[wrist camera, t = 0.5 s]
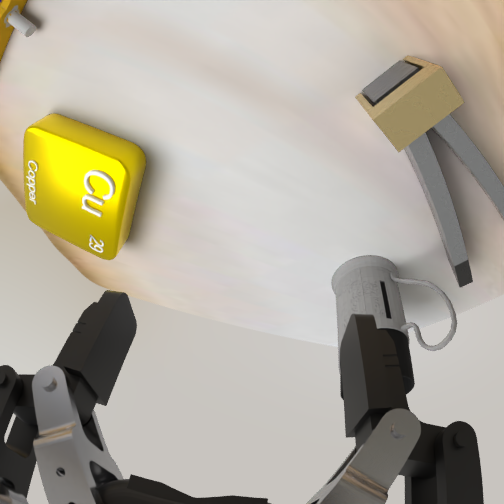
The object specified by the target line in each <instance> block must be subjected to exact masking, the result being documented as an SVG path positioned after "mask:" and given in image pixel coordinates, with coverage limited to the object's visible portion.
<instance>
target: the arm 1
mask: <svg viewBox="0 0 504 504" xmlns="http://www.w3.org/2000/svg"><path fill="white" fill-rule="evenodd" d="M404 149H405V151H406V153H407V155H408V157H409V159H410V161H411V163H412V166H413V168H414V170H415V172H416V174H417V177H418V179H419V181H420V183H421V186H422V188H423V191H424V193H425V195H426V198H427V200H428V203H429V205H430V208H431V210H432V213H433V216H434V218H435V221H436V224H437V227H438V229H439V232H440V235H441V238H442V241H443V244H444V247H445V250H446V253H447V256H448V260H449V262H450V265H451V267H452V269H453V272H454V274H455V277H456V279H457V282H458V284H459V287H462V286H465V285H467V284H469V283H471V282H473V280H472V275H471V270H470V266H469V261H468V257H467V252H466V248H465V244H464V240H463V237H462V233H461V229H460V226H459V222H458V219H457V215H456V212H455V209H454V206H453V203H452V200H451V197H450V194H449V191H448V188H447V185H446V182H445V179H444V177H443V174H442V171H441V169H440V166H439V164H438V161H437V159H436V156H435V154H434V151H433V149H432V146H431V144H430V142H429V139H428V137H427V135H426V133H424V134H422V135H421V136H420V137H418V138H417V139H416V140H414V141H413V142H412V143H411V144H409V145H408V146H407V147H405V148H404Z"/></svg>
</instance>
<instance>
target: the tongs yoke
mask: <svg viewBox="0 0 504 504" xmlns="http://www.w3.org/2000/svg"><path fill="white" fill-rule="evenodd" d="M419 71H420V70H419V68H418V67H415V66H412V65H410V64H407V63H404V62H402V61H398V62H397V63H396V64H395V65H393V66H392V67H391V68H389V69H388V70H387V71H386V72H384V73H383V74H382V75H381V76H379V77H378V78H377V79H375V80H374V81H373V82H372V83H370V84H369V85H368V86H367V87H366V88H364V89H363V90H362V91H363V92H364V93H365V94H366V95H367V97H368V98H369V99H370V100H371V101H372V102H373V104H374V105H376V104H378V103H379V102H380V101H382V100H383V99H384V98H385V97H387V96H388V95H389V94H390V93H392V92H393V91H394V90H396V89H397V88H398V87H399V86H401V85H402V84H403V83H405V82H406V81H407V80H408V79H410V78H411V77H412V76H414V75H415V74H416V73H418V72H419Z"/></svg>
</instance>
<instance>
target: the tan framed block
mask: <svg viewBox="0 0 504 504" xmlns="http://www.w3.org/2000/svg"><path fill="white" fill-rule="evenodd" d="M403 60H404V61H405V62H406V63H407V64H410V65H412V66H415V67H418V68H419V70H420V71H419V72H418V73H416V74H415V75H414V76H412V77H411V78H410V79H408V80H407V81H406V82H405V83H403V84H402V85H401V86H399V87H398V88H397V89H396V90H394V91H393V92H392V93H390V94H389V95H388V96H387V97H385V98H384V99H383V100H382V101H380V102H379V103H378V104H376V105H375V106H374V107H372V106H371V104H370V103H369V102H368V101H367V100H366V99H365V98H364V97H363V96H362V95H361V93H360V94H358V95H357V96H356V97H355V98H356V99H357V100H358V101H359V103H360V104H361V105H362V106H363V108H364V109H365V110H366V112H367V113H368V114H369V116H370V117H371V118H372V120H373V121H374V122H375V123H376V124H377V126H378V127H379V128H380V129H381V130H382V132H383V133H384V134H385V135H386V137H387V138H388V139H389V140H390V142H391V143H392V144H393V146H394V147H395V148H396V149H397V151H398V152H400V151H401V150H403V149H404V148H405V147H407V146H408V145H409V144H411V143H412V142H413V141H414V140H416V139H417V138H418V137H420V136H421V135H422V134H424V133H425V132H426V131H428V130H429V129H430V128H432V127H433V126H434V125H436V124H437V123H438V122H440V121H441V120H442V119H443V118H445V117H446V116H447V115H449V114H450V113H451V112H453V111H454V110H455V109H457V108H458V107H459V106H461V105H462V104H463V103H464V101H463V99H462V98H461V96H460V94H459V93H458V91H457V89H456V88H455V86H454V85H453V83H452V81H451V80H450V78H449V77H448V75H447V74H446V72H445V71H444V69H443V68H442V67H441V66H438V65H435V64H432V63H430V62H427V61H424V60H420V59H417V58H414V57H411V56H406V57H405V58H404V59H403Z"/></svg>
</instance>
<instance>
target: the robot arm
mask: <svg viewBox="0 0 504 504" xmlns="http://www.w3.org/2000/svg"><path fill="white" fill-rule="evenodd" d="M136 328H137V324H136V319H135V316H134V313H133V310H132V307H131V304H130V301H129V298H128V295H127V294H126V293H123V292H116V291H110V290H107V291H105V292H104V294H103V295H102V297H101V298H100V300H99V302H98V303H96V302H94V303H93V304H91V305H90V306H89V307H88V308H87V309H86V310H84V312H83V313H82V315H81V317H80V318H79V320H78V324H76V325H75V327H74V329H73V332H72V333H71V334H70V336H69V337H68V339H67V341H66V343H65V345H64V346H63V348H62V350H61V352H60V354H59V356H58V358H57V360H56V361H55V363H54V364H53V366H46V367H44V368H42V369H40V370H39V371H38V372H37V373H36V374H35V375H18V374H17V373H16V372H15V370H14V369H13V368H12V367H10V366H8V365H3V366H0V504H28V502H27V500H26V498H27V494H28V489H29V486H30V482H31V478H32V475H33V471H34V468H35V464H36V461H37V464H38V468H39V472H40V475H41V479H42V483H43V486H44V490H45V493H46V496H47V499H48V502H49V504H271V503H267V501H268V499H266V498H252V497H241V496H222V497H209V498H194V497H191V496H188V495H187V494H184V493H182V492H180V491H178V490H176V489H173V488H171V487H169V486H167V485H165V484H163V483H161V482H157V481H153V480H149V479H145V478H142V477H138V476H135V475H131V476H130V479H123V477H122V474H121V472H120V471H119V468H118V466H117V465H116V463H115V462H114V460H113V459H112V457H111V456H110V454H109V452H108V449H107V446H106V444H105V441H104V438H103V435H102V432H101V429H100V426H99V424H98V420H97V417H96V414H95V411H94V410H93V409H94V407H95V404H96V403H98V404H102V405H105V406H106V405H107V403H108V400H109V397H110V395H111V392H112V389H113V387H114V385H115V382H116V380H117V377H118V374H119V372H120V370H121V367H122V365H123V362H124V360H125V357H126V355H127V353H128V350H129V348H130V346H131V344H132V341H133V339H134V337H135V334H136ZM340 362H341V373H342V384H343V397H344V411H345V428H346V437H355V438H356V446H355V448H354V449H353V450H352V451H351V453H350V454H349V455H348V457H347V458H346V459H345V461H344V462H343V463H342V464H341V466H340V467H339V468H338V469H337V471H336V472H335V473H334V474H333V476H332V477H331V478H330V479H329V480H328V482H327V483H326V484H325V485H324V486H323V487H322V488H321V489H320V490H319V491H318V492H317V493H316V494H315V495H314V496H313V497H312V498H311V499H310V500H309V501H308V502H307V504H385V502H386V500H387V498H388V494H387V492H388V490H389V488H390V486H391V485H392V483H393V482H394V480H395V479H396V477H397V475H403V476H405V504H484V503H483V486H482V475H481V466H480V458H479V451H478V444H477V437H476V433H475V431H474V429H473V428H472V427H471V426H470V425H469V424H467V423H466V422H462V421H457V422H454V423H452V424H450V425H449V426H448V427H446V428H445V427H440V426H435V425H430V424H426V423H423V422H421V421H419V420H418V418H417V417H416V416H415V415H414V414H413V413H412V412H411V411H410V409H409V407H408V403H407V398H406V393H405V388H404V383H403V378H402V374H401V369H400V367H399V360H398V357H397V352H396V348H395V344H394V341H393V339H392V338H391V337H390V335H389V334H388V332H387V331H386V330H377V326H376V321H375V317H374V316H373V315H372V314H352V315H351V316H350V319H349V322H348V325H347V327H346V330H345V333H344V336H343V338H342V341H341V346H340ZM13 413H14V414H15V415H16V418H15V420H14V423H13V426H12V428H11V431H10V434H9V437H8V439H7V442H6V443H5V442H4V436H5V433H6V430H7V427H8V424H9V422H10V419H11V417H12V414H13Z"/></svg>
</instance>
